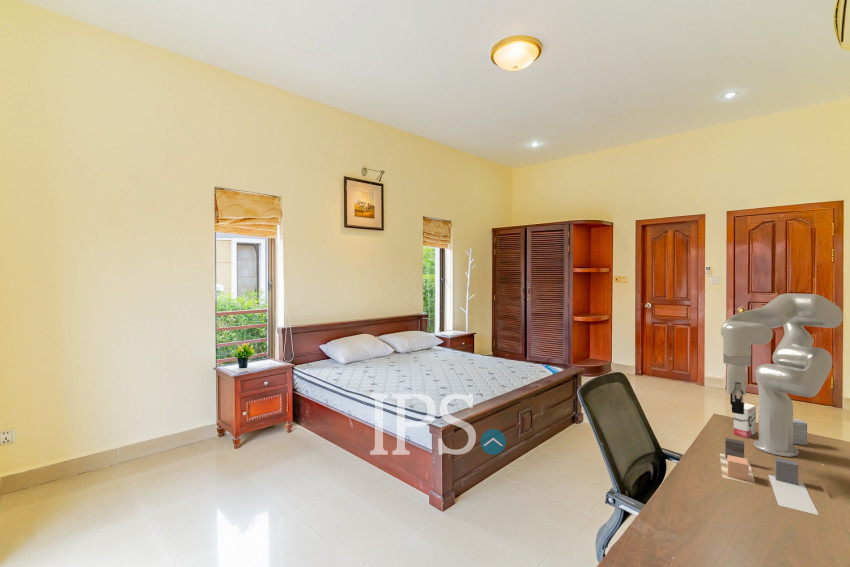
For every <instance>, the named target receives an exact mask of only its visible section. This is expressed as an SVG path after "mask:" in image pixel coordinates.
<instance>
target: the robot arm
mask: <svg viewBox="0 0 850 567" xmlns="http://www.w3.org/2000/svg"><path fill="white" fill-rule="evenodd" d="M843 320H844V315H843V311H842V309H841V308H840V307H839V306H838V305H836V304H835V303H834V302H833V301H830V300H829V299H828V298H826V297H824V296H822V295H819V294H814V293H795V292H793V293H791V292H790V293H788V292H787V293H781V294H779V295H778V296H776V297H775V298H774V299H771V300H770V301H769V302H768V303H767V304H765V305H764V306H762V307H757V308H754V309H749V310H745V311H742V312H738V313H735V314H733V315H732V316H730V317H729V318H727V319H726V320H725V321H724V322H723V324H722V325H721V327H720V335H721V336H722V339H723V345H722V348H723V353H722V355H723V356H722V357H723V364H724V365H726V388H725V389H726V392H727V394H728V395H730V397H729V398H730V403H729V404H730V405H731V413H732V414H734V413H737V414H744V403H745V402H744V396H745V395H746V392H747V391H746V390H747V375H748V374H747V372H748V371H747V367H752V346H753V345H757V346H764V345H766V344H768V343H770V342H771V341H772V339H773V336H774V333H773V330H772V329H775V328H780V327H783V332H784V333H783V334H784V335H783V336H782V339H781V340H780V342H779V343H778V345H777V346H776V347H775V350H774V352H773V354H772V356H771V357H772V358H771V359H772V362H773V363H763V364H761V365H758V367H757V368H756V370H755V380H756V384H757V390H758V439H754V440H753V441H752V442H753V443H752V444H753V446H754V448H756V449H758V450H759V451H762V452H765V453H769V454H771V455H775V456H781V457H792V458H793V457H797V456H799V453H800V451H799V449H798V448H796V447H795V446H794V444H793V419H794V403H793V401H792V399H791V398H790V396H789V395H788V394H791V395H794V396H799V397H804V398H813V397H815V396H817V394H818V393H819V392H820V390H821V389H822V388H823V385H824V383H825V382H826V380H827V378H828V376H829V374H830V372H831V370H832V369H833V368H832V366H833V357H832V354H831V353H830V352H829V351H828V350H827V349H825V348H822V347H815V346H813V345H814V342H815V340H814V339H813V336H812V335H811V334H810V332H808V330H806V328H805V327H814V328H815V327H816V328H827V329H832V328H837V327H839V326H840V325H841V324H842V323H843ZM804 326H805V327H804Z"/></svg>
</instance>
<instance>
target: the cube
mask: <svg viewBox="0 0 850 567" xmlns="http://www.w3.org/2000/svg"><path fill="white" fill-rule="evenodd" d="M747 459H748V458H745V457H744V458H740V457H735V456H731V455H727V472H728V477H733V478H737V479H741V480H746V481H749V464H748V460H747Z"/></svg>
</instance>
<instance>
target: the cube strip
mask: <svg viewBox="0 0 850 567" xmlns="http://www.w3.org/2000/svg"><path fill="white" fill-rule="evenodd" d="M724 440H725V441H724V442H725V445H724V447H725V449H724V453H719V460H720V467H721V476H722V478H724V479H728V480H733V481H737V482H741V483H744V484H745V483H746V484H749V485H753V486H756V481H755V476H754V474H753V470H752V466H751V462H750V459H749V458H746V459H747V460H748V464H749V481H746V480H741V479H737V478H733V477H728V472H727V455H731V456H735V457H740V458H745V442H744V440H740V439H735V438H728V437H725V439H724Z"/></svg>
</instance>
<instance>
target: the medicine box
mask: <svg viewBox="0 0 850 567" xmlns="http://www.w3.org/2000/svg"><path fill="white" fill-rule="evenodd" d="M793 445H799V446H800V445H801V446H807V445H808V423H807V422H805V421H804V420H802V419H800V418H793Z"/></svg>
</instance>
